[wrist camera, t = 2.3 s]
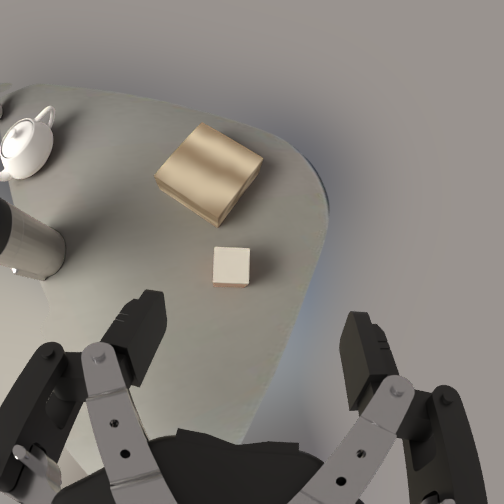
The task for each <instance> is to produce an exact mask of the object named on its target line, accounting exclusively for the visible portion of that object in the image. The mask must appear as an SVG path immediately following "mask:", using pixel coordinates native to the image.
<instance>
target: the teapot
mask: <svg viewBox="0 0 504 504" xmlns="http://www.w3.org/2000/svg"><path fill="white" fill-rule="evenodd" d="M48 111H50V113H51V115H50V120H49V123H48V125H46V124H45V123H43V122H41V121H39V120H40V119H41V118H42V117H43V116H44V115H45V114H46V113H47V112H48ZM54 119H55V109H54V107H52V106H48V107H46V108H45V109H44V110H43V111H42V112H41V113H40V114H39V115H38V116H37V117H36V118H35V119H30V118H25V119H22V120H20V121H18V122H17V123H15V124H14V125H13V126H12V127H11V128H10V129H9V130H8V132H7V133H6V134H5V136H4V138H3V140H2V143H1V146H0V155H1V159H2V162H3V165H4V167H5V169H4V170H3V171H2V172H0V181H8V180H10V179H11V178H12V177H13V178H16V179H24V178H27V177H30V176H32V175H33V174H35V173H36V172H37V171H38V170H39V169H40V168H41V167H42V166H43V165H44V164H45V162H46V161H47V159H48V157H49V155H50V153H51V150H52V146H53V133H52V131H51V127H52V125H53V122H54Z"/></svg>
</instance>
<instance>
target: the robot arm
mask: <svg viewBox="0 0 504 504" xmlns="http://www.w3.org/2000/svg"><path fill="white" fill-rule="evenodd" d="M65 251H66V250H65V242H64V239H63V237H62V236H61V234H60V233H59V232H57V231H56V230H54V229H53V228H51V227H49V226H47V225H45V224H43V223H42V222H40V221H38V220H36V219H35V218H33V217H31V216H30V215H28V214H26V213H24V212H23V211H21V210H19V209H18V208H16V207H14V206H13V205H11V204H10V203H8V202H6V201H5V200H3V199H1V198H0V265H1V266H5V267H9V268H11V270H12V271H13V272H14V274H16V275H20V276H23V277H28V278H33V279H37V280H41V281H44V280H45V279H46V277H48V276H51V275H53V274H55V273H56V272H57V271H58V270H59V269H60V267H61V266H62V263H63V261H64V258H65ZM166 327H167V316H166V308H165V300H164V294H163V292H160V291H154V290H147V289H146V290H145V291H144V292H143V294H142V295H141V296H140V298H139V299H133V300H131V301H130V302H128V303H127V304H126V305H125V306H124V307H123V308H122V310H121V311H120V314H118V316H117V317H116V319H115V320H114V321H113V323H112V324H111V326H110V327H109V329H108V330H107V332H106V333H105V335H104V336H103V338H102V339H101V341H100V342H97V343H93V344H90V345H89V346H87V347H86V348H85V349H84V350H83V352H64V349H63V347H62V346H61V345H60V344H59V343H56V342H48V343H45V344H43V345H41V346H40V347H39V348H38V349H37V350H36V352H35V353H34V354H33V356H32V357H31V359H30V360H29V362H28V363H27V365H26V366H25V368H24V369H23V371H22V373H21V374H20V375H19V377H18V379H17V380H16V382H15V383H14V385H13V387H12V388H11V390H10V392H9V393H8V395H7V397H6V398H5V400H4V402H3V403H2V405H1V407H0V492H2V493H4V494H5V495H7V496H9V497H10V498H12V499H14V500H16V501H17V502H19V503H21V504H364V503H363V502H362V501H361V500H360V499H359V497H360V496H361V494H362V493H363V492H364V490H365V489H366V487H367V485H368V484H369V483H370V481H371V480H372V478H373V477H374V475H375V474H376V472H377V470H378V469H379V467H380V466H381V464H382V462H383V461H384V459H385V457H386V455H387V454H388V452H389V450H390V449H391V447H392V445H393V443H394V441H395V439H396V438H401V439H402V440H403V447H404V454H405V461H406V469H407V478H408V487H409V498H410V504H488V502H487V496H486V491H485V485H484V480H483V475H482V470H481V466H480V462H479V457H478V453H477V450H476V446H475V442H474V439H473V435H472V432H471V428H470V425H469V422H468V419H467V416H466V413H465V409H464V407H463V404H462V401H461V398H460V396H459V394H458V392H457V391H456V390H455V389H454V388H452V387H450V386H447V385H441V386H438V387H436V388H435V390H434V391H433V392H432V393H429V392H424V391H419V390H415V389H414V387H413V385H412V383H411V382H410V381H409V380H408V379H406V378H404V377H402V376H399V373H398V370H397V367H396V364H395V361H394V358H393V355H392V352H391V350H390V347H389V344H388V343H387V338H386V336H385V333H384V331H383V330H382V329H381V328H380V327H379V326H378V325H377V324H372V323H371V320H370V318H369V315H368V313H367V312H353V311H351V312H350V313H349V315H348V317H347V320H346V323H345V326H344V330H343V332H342V335H341V339H340V347H339V349H340V355H341V362H342V366H343V372H344V379H345V385H346V391H347V398H348V403H349V411H355V410H358V411H359V419H358V420H357V421H356V423H355V424H354V426H353V427H352V428H351V430H350V431H349V433H348V434H347V435H346V437H345V438H344V439H343V441H342V442H341V443H340V445H339V446H338V447H337V448H336V450H335V451H334V452H333V453H332V455H331V456H330V457H329V458H328V460H327V461H326V462H325V463H324V462H323V461H321V460H320V459H318V458H317V457H315V456H313V455H311V454H309V453H305V452H303V451H299V443H286V442H269V441H268V442H261V443H253V444H243V445H235V444H232V443H229V442H227V441H224V440H221V439H219V438H216V437H214V436H211V435H209V434H205V433H199V432H194V431H189V430H184V429H179V428H178V430H177V433H176V435H171V436H164V437H159V438H156V439H153V440H149V438H148V435H147V433H146V431H145V429H144V427H143V424H142V422H141V419H140V417H139V414H138V412H137V409H136V407H135V404H134V402H133V399H132V396H131V393H130V391H129V388H130V386H131V385H133V386H137V387H140V386H141V384H142V381H143V379H144V377H145V375H146V373H147V370H148V368H149V366H150V364H151V362H152V359H153V357H154V355H155V353H156V351H157V348H158V346H159V344H160V342H161V340H162V338H163V336H164V334H165V331H166ZM52 391H53V392H52ZM51 393H52V394H51ZM83 402H86V404H87V408H88V413H89V417H90V421H91V424H92V428H93V432H94V435H95V439H96V442H97V446H98V449H99V452H100V455H101V458H102V461H103V464H104V467H103V468H102V469H100V470H98V471H96V472H94V473H92V474H91V475H89V476H87V477H85V478H83V479H81V480H79V481H77V482H75V483H73V484H71V485H69V486H67V487H65V488H63V489H62V490H61V486H60V485H61V484H62V481H61V471H60V468H59V466H58V465H57V463H58V460H59V458H60V455H61V452H62V450H63V448H64V445H65V443H66V440H67V438H68V436H69V433H70V431H71V429H72V426H73V424H74V422H75V419H76V417H77V415H78V413H79V410H80V408H81V406H82V404H83Z"/></svg>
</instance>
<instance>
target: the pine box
mask: <svg viewBox="0 0 504 504" xmlns="http://www.w3.org/2000/svg"><path fill="white" fill-rule="evenodd" d="M262 161H263V158H262V157H260V156H259V155H257V154H256V153H254V152H252V151H251V150H249V149H247V148H246V147H244V146H242V145H241V144H239V143H237V142H236V141H234V140H232V139H230V138H229V137H227V136H225V135H224V134H222V133H220V132H218V131H217V130H215V129H213V128H211V127H209V126H208V125H206V124H204V123H201V124H200V125H199V126H198V127H197V128H196V129H195V130H194V131H193V132H192V133H191V134H190V135H189V136H188V137H187V138H186V140H185V141H184V142H183V143H182V144H181V145H180V146H179V147H178V148H177V149H176V150H175V152H174V153H173V154H172V155H171V156H170V157H169V158H168V160H167V161H166V162H165V163H164V164H163V165H162V166H161V168H160V169H159V170H158V171H157V172H156V174H155V175H154V177H155V179H156V182H157V184H158V186H159V188H160V190H162V191H163V192H165V193H166V194H168V195H169V196H171V197H172V198H174V199H175V200H177V201H178V202H180V203H181V204H183V205H184V206H186V207H187V208H189V209H190V210H192V211H193V212H195V213H196V214H198V215H199V216H201V217H202V218H204V219H205V220H206V221H208V222H209V223H211V224H212V225H214V226H215V227H217V228H218V227H219V226H220V224H221V223H222V222H223V220H224V219H225V218H226V216H227V215H228V214H229V212H230V211H231V210H232V208H233V207H234V205H235V204H236V203H237V201H238V200H239V199H240V197H241V196H242V195H243V193H244V192H245V191H246V189H247V188H248V187H249V185H250V184H251V183H252V181H253V180H254V179H255V178H256V176H257V175H258V174H259V171H260V168H261V165H262Z"/></svg>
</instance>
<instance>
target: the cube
mask: <svg viewBox="0 0 504 504" xmlns="http://www.w3.org/2000/svg"><path fill="white" fill-rule="evenodd" d="M249 258H250V248H231V247H214V267H213V285H214V287H235V288H244V287H245V286H247V285H248V284H249Z"/></svg>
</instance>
